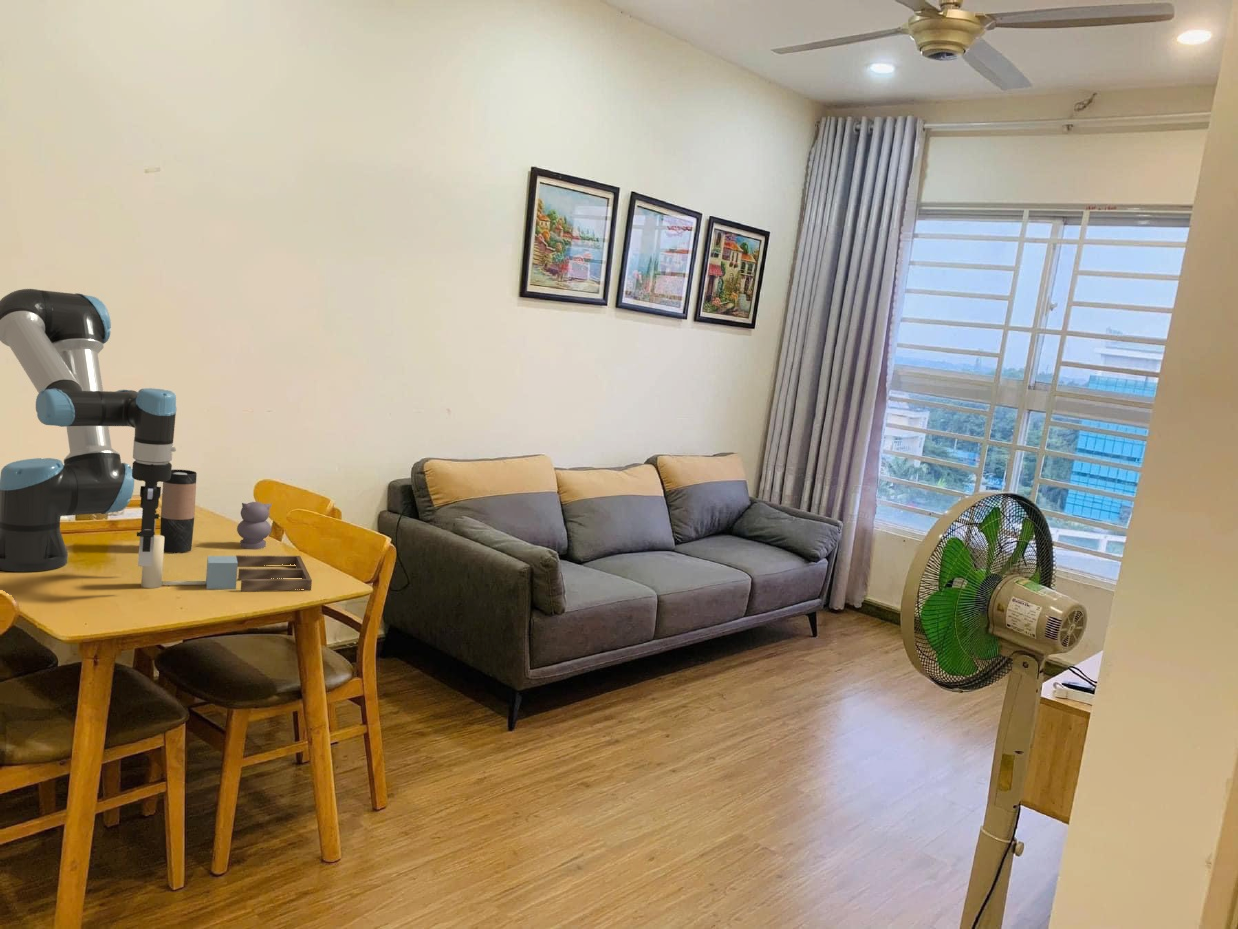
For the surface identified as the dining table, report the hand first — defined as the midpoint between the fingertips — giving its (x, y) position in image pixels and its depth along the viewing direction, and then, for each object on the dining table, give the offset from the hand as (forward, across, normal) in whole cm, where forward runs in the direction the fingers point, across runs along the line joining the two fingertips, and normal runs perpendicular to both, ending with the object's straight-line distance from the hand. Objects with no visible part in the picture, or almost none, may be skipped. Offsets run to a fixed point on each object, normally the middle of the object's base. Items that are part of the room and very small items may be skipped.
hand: (146, 556), depth 199 cm
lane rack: (+6, +5, -27) cm, 28 cm away
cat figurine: (+7, +36, -25) cm, 44 cm away
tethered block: (+6, -1, -9) cm, 11 cm away
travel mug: (+7, +31, -6) cm, 33 cm away
